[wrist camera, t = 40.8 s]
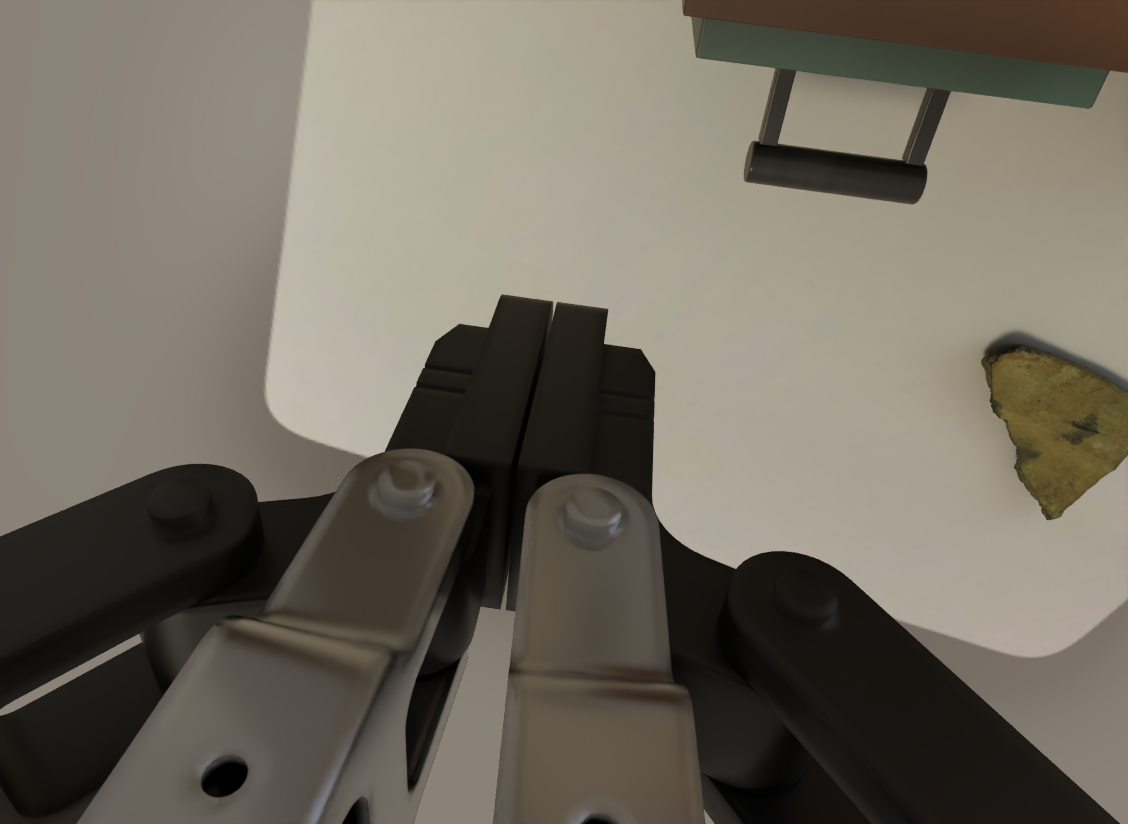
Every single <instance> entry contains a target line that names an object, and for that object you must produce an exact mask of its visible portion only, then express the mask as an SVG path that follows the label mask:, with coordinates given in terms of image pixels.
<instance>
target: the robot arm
mask: <svg viewBox="0 0 1128 824" xmlns="http://www.w3.org/2000/svg"><path fill="white" fill-rule="evenodd" d="M607 315H608V309H604V308H597V307H590V306H583V305H575V304H568V303H561V302H557V304H556V308H555V312H554V316H553V301H546V300H538V299H531V298H524V297H517V296H510V295H503V294H502V295H501V296H500V299H499V301H498V304H497V307H496V310H495V312H494V315H493V318H492V321H491V323H490V326H489V328H485V327H478V326H471V325H464V324H459V325H457V326H456V327H454V328H453V329H452V330H450V331H449V332H448V333H446V334H445V335H444V336H442V337H441V338H439V339H438V340H437V341H435V344H434V346H433V348H432V350H431V352H430V354H429V357H428V359H427V361H426V363H425V368H423V370H422V372H421V374H420V376H419V378H418V381H417V385H416V387H414V389H413V391H412V394H411V396H410V398H409V400H408V402H407V404H406V407H405V409H404V411H403V413H402V415H401V417H400V420H399V422H398V424H397V426H396V428H395V430H394V433H393V435H392V437H391V439H390V441H389V443H388V446H387V448H386V450H385V452H383V453H380V454H377V455H374V456H372V457H370V458H367V459H365V460H364V461H362V462H361V463H359V464H358V465H356V466H355V467H354V468H353V469H352V470H351V471H350V472H349V473H348V474H347V475H346V477H345V478H344V479H343V481H342V483H341V484H340V486H339V487H338V489H337V491H336V492H333V493H330V494H326V495H322V496H316V497H310V498H300V499H289V500H278V501H266V502H258V499H257V494H256V491H255V489H254V487H253V485H252V484H251V482H250V481H249V480H248V479H247V478H246V477H244V476H243V475H242V474H240V473H238V472H236V471H234V470H232V469H229V468H226V467H223V466H218V465H212V464H187V465H180V466H174V467H170V468H167V469H163V470H160V471H157V472H154V473H151V474H149V475H147V476H144V477H142V478H139V479H137V480H135V481H132V482H130V483H127V484H125V485H123V486H120V487H118V488H115V489H113V490H111V491H108V492H106V493H104V494H101V495H99V496H96V497H94V498H92V499H89V500H87V501H84V502H82V503H79V504H77V505H75V506H72V507H70V508H68V509H65V510H63V511H60V512H58V513H55V514H53V515H51V516H48V517H46V518H44V519H41V520H39V521H36V522H34V523H32V524H29V525H27V526H24V527H22V528H19V529H17V530H15V531H12V532H10V533H8V534H5V535H3V536H1V537H0V709H1V708H3V707H4V706H6V705H7V704H9V703H10V702H12V701H14V700H15V699H18V698H19V697H21V696H23V695H25V694H27V693H29V692H31V691H33V690H34V689H36V688H38V687H40V686H42V685H44V684H46V683H48V682H49V681H51V680H53V679H55V678H57V677H59V676H61V675H63V674H64V673H66V672H68V671H70V670H72V669H74V668H75V667H78V666H79V665H81V664H83V663H85V662H87V661H89V660H91V659H92V658H94V657H96V656H98V655H100V654H102V653H104V652H106V651H107V650H109V649H111V648H113V647H115V646H117V645H118V644H120V643H122V642H124V641H126V640H128V639H130V638H132V637H134V636H135V635H137V634H139V635H140V637H141V640H142V642H141V643H140V644H138V645H136V646H134V647H132V648H131V649H129V650H127V651H125V652H123V653H121V654H119V655H117V656H116V657H114V658H112V659H110V660H108V661H107V662H105V663H103V664H101V665H99V666H97V667H95V668H94V669H92V670H90V671H88V672H86V673H84V674H82V675H81V676H79V677H77V678H75V679H73V680H71V681H70V682H68V683H66V684H64V685H62V686H60V687H58V688H57V689H55V690H53V691H51V692H49V693H48V694H46V695H44V696H42V697H40V698H38V699H37V700H34V701H33V702H31V703H29V704H27V705H25V706H24V707H22V708H20V709H18V710H16V711H14V712H11V713H8V714H6V715H2V716H0V824H414V822H415V818H416V814H417V810H418V807H419V804H420V801H421V798H422V795H423V792H424V789H425V786H426V783H427V780H428V777H429V774H430V771H431V768H432V765H433V762H434V759H435V756H436V753H437V751H438V747H439V745H440V742H441V739H442V736H443V732H444V730H445V727H446V724H447V721H448V718H449V715H450V712H451V709H452V706H453V703H454V700H455V697H456V694H457V691H458V688H459V685H460V682H461V679H462V676H463V673H464V670H465V667H466V664H467V659H468V647H469V645H470V643H471V641H472V638H473V635H474V631H475V627H476V623H477V619H478V615H479V611H480V607H488V608H494V609H500V608H501V604H502V599H503V595H504V591H505V585H506V581H507V577H508V572H509V578H508V591H507V603H506V610H509V611H515V621H514V632H513V640H512V650H511V659H510V668H509V675H508V684H507V693H506V703H505V713H504V722H503V733H502V741H501V751H500V760H499V770H498V779H497V789H496V799H495V809H494V818H493V824H705V816H704V810H705V811H706V812H707V814H708V815H709V816H710V818H711V819H712V821H713V822H714V823H715V824H1120V823H1119V822H1118V821H1116V820H1115V819H1114V818H1113V817H1112V816H1111V815H1110V814H1109V813H1108V812H1107V811H1105V810H1104V809H1103V808H1102V807H1101V806H1100V805H1099V804H1098V803H1097V802H1095V801H1094V800H1093V799H1092V798H1091V797H1090V796H1089V795H1088V794H1087V793H1086V792H1084V791H1083V790H1082V789H1081V788H1080V787H1079V786H1078V785H1077V784H1076V783H1074V782H1073V781H1072V780H1071V779H1070V778H1069V777H1068V776H1067V775H1066V774H1064V773H1063V772H1062V771H1061V770H1060V769H1059V768H1058V767H1057V766H1056V765H1055V764H1054V763H1052V762H1051V761H1050V760H1049V759H1048V758H1047V757H1046V756H1045V755H1043V753H1041V752H1040V751H1039V750H1038V749H1037V748H1036V747H1035V746H1034V745H1032V744H1031V743H1030V742H1029V741H1028V740H1027V739H1026V738H1025V737H1024V736H1022V734H1020V733H1019V732H1018V731H1017V730H1016V729H1015V728H1014V727H1013V726H1012V725H1011V724H1009V723H1008V722H1007V721H1006V720H1005V719H1004V718H1003V717H1002V716H1000V715H999V714H998V713H997V712H996V711H995V710H994V709H993V708H992V707H991V706H990V705H988V704H987V703H986V702H985V701H984V700H983V699H982V698H981V697H980V696H978V695H977V694H976V693H975V692H974V691H973V690H972V689H971V688H970V687H969V686H967V685H966V684H965V683H964V682H963V681H962V680H961V679H960V678H959V677H957V676H956V675H955V674H954V673H953V672H952V671H951V670H950V669H949V668H948V667H946V666H945V665H944V664H943V663H942V662H941V661H940V660H939V659H938V658H936V657H935V656H934V655H933V654H932V653H931V652H930V651H929V650H928V649H927V648H925V647H924V646H923V645H922V644H921V643H920V642H919V641H918V640H917V639H915V638H914V637H913V636H912V635H911V634H910V633H909V632H908V631H907V630H906V629H905V628H903V627H902V626H901V625H900V624H899V623H898V622H897V621H896V620H895V619H893V618H892V617H891V616H890V615H889V614H888V613H887V612H886V611H885V610H884V609H882V608H881V607H880V606H879V605H878V604H877V603H876V602H875V601H874V600H873V599H871V598H870V597H869V596H868V595H867V594H866V593H865V592H864V591H863V590H861V589H860V588H859V587H858V586H857V585H856V584H855V583H854V582H853V581H852V580H850V579H849V578H848V577H847V576H845V575H844V574H843V573H842V572H840V571H839V570H837V569H836V568H834V567H832V566H831V565H829V564H827V563H825V562H823V561H821V560H819V559H816V558H813V557H810V556H807V555H803V554H799V553H795V552H786V551H772V552H766V553H761V554H758V555H755V556H752V557H750V558H749V559H747V560H745V561H744V562H743V563H742V564H741V565H739V566H738V567H737V569H734V568H732V567H729V566H727V565H724V564H722V563H719V562H717V561H715V560H712V559H710V558H707V557H705V556H703V555H701V554H699V553H697V552H694V551H693V550H691V549H689V548H688V547H686V546H685V545H683V544H682V543H680V542H679V541H678V540H677V539H675V538H674V537H673V536H672V535H671V534H670V533H669V532H668V531H667V530H666V529H665V528H664V526H663V525H662V523H661V522H660V521H659V519H658V517H657V515H656V513H655V510H654V507H653V503H652V474H653V438H654V421H653V420H654V403H655V401H654V397H655V371H654V369H653V368H652V366H651V365H650V363H649V361H648V360H647V358H646V357H645V355H644V353H643V352H642V350H641V349H635V348H628V347H621V346H614V345H607V344H604V338H605V330H606V323H607ZM552 318H553V321H552Z"/></svg>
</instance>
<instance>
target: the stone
mask: <svg viewBox="0 0 1128 824" xmlns="http://www.w3.org/2000/svg"><path fill="white" fill-rule="evenodd" d="M981 364H982V366H983V367H984V369H985V372H986V379H987V383H988V386H989V388H991V391H990V392H991V398H990V400H989V401H990V403H992V404H991V407H992V409H993V412H994V413H996V415H997V416H998V417H999V418H1001V419H1003V420H1004V421H1005V422H1006V427H1007V430H1008V432H1009V436H1010V438H1011V440H1012V442H1013V444H1014V445H1015V446H1016V447H1017V449H1016V454H1017V456H1018V458H1017V462H1016V464H1015V466H1014V468H1015V469H1016V471H1017V475H1018V477H1019V479H1020V481H1021V482H1023V483H1024V485H1025V487H1026V488H1027V490H1028V491H1029V492H1030V493H1031V495H1032V496H1033V497H1034V498H1035V499H1037V500H1038V502H1039V505H1040V506H1041V507H1042V509H1041V511H1042V513H1043V514H1044V516H1045V517H1046V519H1047V520H1052V519H1056V518H1059V517H1061V516H1062V514H1063V512H1064V510H1065V509H1066V508H1068V507H1069V506H1070V505H1072V504H1073V503H1074V502H1075V501H1076V500H1078V499H1079V498H1080V497H1081V496H1082V495H1083V494H1084V493H1085V492H1086V491H1087V490H1088V489H1089V488H1091V487H1092V486H1093V485H1095V484H1096V483H1097V482H1098V481H1099V480H1100V479H1101V478H1102V477H1104V476H1105V475H1107V474H1108V473H1110V472H1112V471H1114V470H1115V469H1116V468H1117V467H1118V466H1119V464H1120V463H1121V462H1122V461H1123V460H1124V459H1125V458H1126V456H1127V455H1128V392H1126V391H1124V390H1123V389H1121V388H1120V387H1118V386H1117V385H1116V384H1114V383H1112V382H1111V381H1109V380H1108V379H1106V378H1105V377H1103V376H1101V375H1099V374H1097V373H1095V372H1093V371H1091V370H1089V369H1087V368H1085V367H1083V366H1081V365H1079V364H1076V363H1074V362H1072V361H1069V360H1066V359H1063V358H1060V357H1058V356H1055V355H1052V354H1050V353H1047V352H1044V351H1041V350H1038V349H1035V348H1032V347H1029V346H1025V345H1013V346H1008V347H1005V348H1001V349H999V350H997V351H994V352H991V353H989V354H988V355H986V356H985V357H984V358H983V359H982V360H981Z"/></svg>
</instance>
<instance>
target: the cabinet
mask: <svg viewBox="0 0 1128 824" xmlns="http://www.w3.org/2000/svg"><path fill="white" fill-rule="evenodd" d="M682 5H683V14H684V15H685V16H690V17H698V18H705V19H713V20H721V21H729V22H737V23H744V24H752V25H760V26H768V27H776V28H783V29H791V30H799V31H807V32H815V33H822V34H830V35H838V36H846V37H854V38H861V39H869V40H877V41H885V42H893V43H900V44H908V45H916V46H924V47H932V48H939V49H947V50H955V51H963V52H970V53H978V54H986V55H994V56H1002V57H1009V58H1017V59H1025V60H1033V61H1041V62H1048V63H1056V64H1064V65H1072V66H1080V67H1087V68H1095V69H1103V70H1111V71H1119V72H1126V73H1128V0H682Z"/></svg>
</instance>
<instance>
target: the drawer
mask: <svg viewBox="0 0 1128 824" xmlns="http://www.w3.org/2000/svg"><path fill="white" fill-rule="evenodd" d="M691 18H692V26H693V35H694V44H695V53H696V57H697V58H702V59H710V60H717V61H725V62H733V63H740V64H748V65H756V66H764V67H771V68H775V72H774V76H773V80H772V84H771V88H770V93H769V97H768V101H767V105H766V109H765V113H764V117H763V121H762V126H761V130H760V134H759V138H758V139H759V141H752V143H751V144H750V146H749V149H748V153H747V157H746V161H745V168H744V181H745V182H749V183H756V184H764V185H771V186H778V187H786V188H793V189H801V190H808V191H816V192H823V193H831V194H838V195H846V196H853V197H860V198H868V199H875V200H883V201H890V202H898V203H905V204H915V203H917V202H918V201H919V199H920V198H921V196H922V194H923V191H924V189H925V185H926V181H927V167H926V165H925V164H924V162H925V159H926V156H927V154H928V151H929V148H930V146H931V143H932V140H933V138H934V135H935V132H936V130H937V127H938V124H939V122H940V119H941V116H942V114H943V111H944V108H945V106H946V103H947V100H948V98H949V95H950V92H951V91H956V92H964V93H972V94H979V95H987V96H995V97H1002V98H1010V99H1018V100H1026V101H1033V102H1041V103H1049V104H1056V105H1064V106H1072V107H1079V108H1087V109H1089V108H1092V106H1093V104H1094V102H1095V100H1096V98H1097V96H1098V94H1099V92H1100V90H1101V88H1102V86H1103V84H1104V81H1105V79H1106V77H1107V75H1108V73H1109V71H1110V70H1103V69H1095V68H1087V67H1080V66H1072V65H1064V64H1056V63H1048V62H1041V61H1033V60H1025V59H1017V58H1009V57H1002V56H994V55H986V54H978V53H970V52H963V51H955V50H947V49H939V48H932V47H924V46H916V45H908V44H900V43H893V42H885V41H877V40H869V39H861V38H854V37H846V36H838V35H830V34H822V33H815V32H807V31H799V30H791V29H783V28H776V27H768V26H760V25H752V24H744V23H737V22H729V21H721V20H713V19H705V18H698V17H691ZM796 71H802V72H810V73H817V74H825V75H833V76H841V77H848V78H856V79H864V80H871V81H879V82H887V83H895V84H902V85H910V86H918V87H925V88H927V90H926V92H925V95H924V98H923V101H922V104H921V106H920V109H919V112H918V115H917V118H916V120H915V123H914V126H913V129H912V132H911V134H910V137H909V140H908V143H907V146H906V149H905V151H904V154H903V157H902V159H903V160H904V161H903V160H896V159H888V158H881V157H873V156H866V155H858V154H851V153H843V152H835V151H828V150H820V149H813V148H805V147H798V146H790V145H783V144H777V143H778V139H779V136H780V132H781V128H782V124H783V120H784V116H785V112H786V109H787V105H788V101H789V97H790V93H791V89H792V85H793V81H794V78H795V74H796Z"/></svg>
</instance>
